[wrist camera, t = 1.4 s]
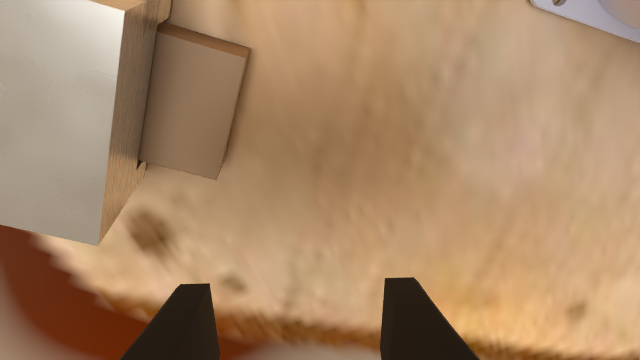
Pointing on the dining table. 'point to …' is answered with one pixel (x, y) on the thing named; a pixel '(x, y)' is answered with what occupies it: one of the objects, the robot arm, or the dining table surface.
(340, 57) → the dining table surface
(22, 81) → the keeper
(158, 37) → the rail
